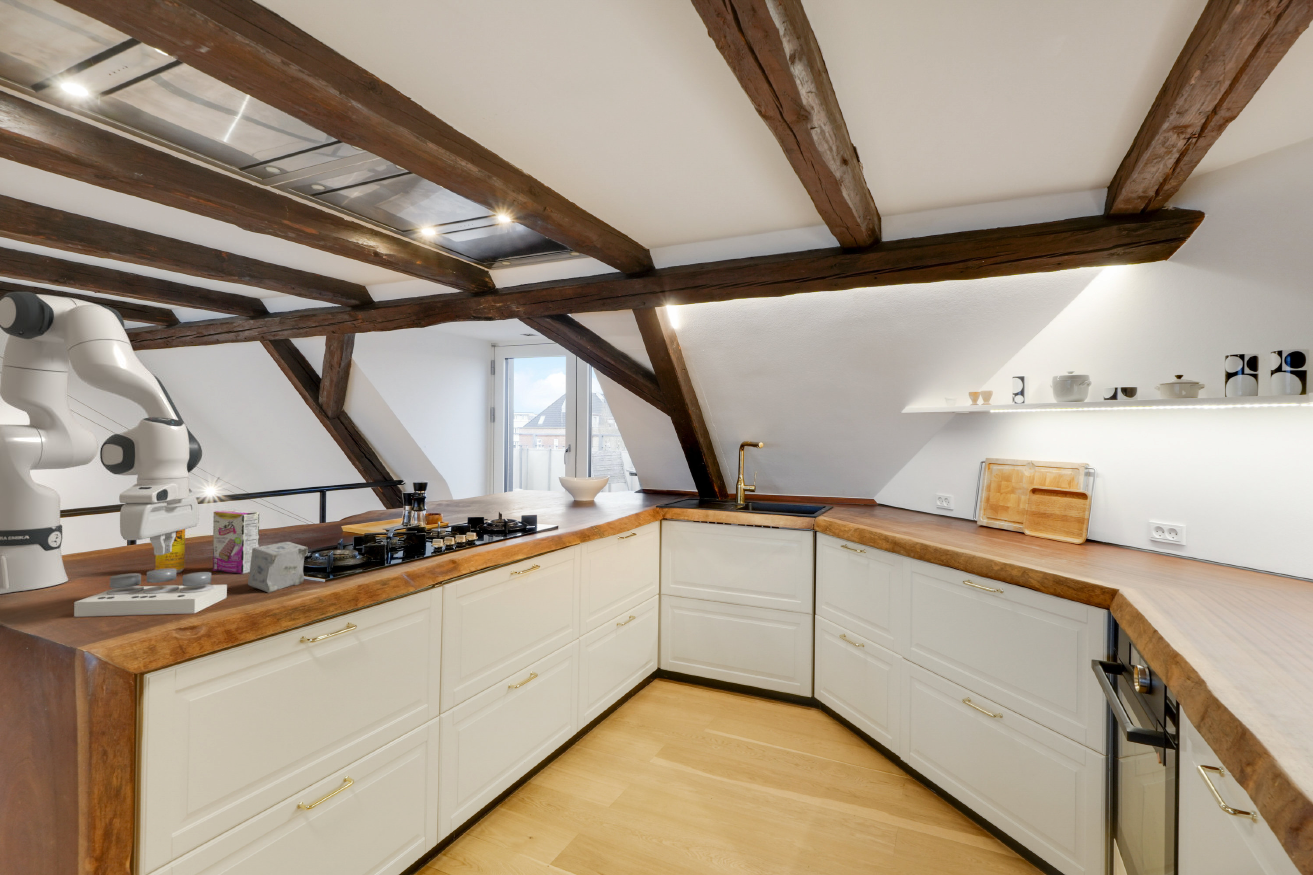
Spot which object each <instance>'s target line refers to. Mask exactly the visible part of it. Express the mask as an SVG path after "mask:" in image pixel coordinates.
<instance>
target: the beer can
mask: <svg viewBox="0 0 1313 875" xmlns="http://www.w3.org/2000/svg"><path fill="white" fill-rule="evenodd" d="M185 552H186V529H183V530H179V531H176V537H175V539H174V541H173V543H172V551H171V552H170V553H166V554H163V555H155V558H154V559H155V562H154V563H155V565H154V566H155V568H154V570H157V569H166V568H174V569H176V574H178V573H181V572H183V570H184V569H185V567H186V566H185V565H186V564H185V563H186V562H185V560H186V558H185V557H186V553H185Z"/></svg>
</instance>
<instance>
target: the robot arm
mask: <svg viewBox="0 0 1313 875" xmlns="http://www.w3.org/2000/svg"><path fill="white" fill-rule="evenodd" d="M125 326H126V324H125V320H124V318H123V317H122V315H121V313H120V312H119V311H118V310H116V308H115V309H114V308H113V307H110V306H108V305H104V304H102V303H94V302H90V301H86V300H81V299H78V298H72V297H67V296H58V295H50V294H40V293H39V294H38V293H37V294H36V293H33V292H31V291H10V292H7V293H5V294H4V295H2V296H1V297H0V329H1V331H3V332H4V333H6V334H7V335H9V336H8V338H7V341H6V345H5V348H4V352H3V357H2V365H1V374H0V376H1V377H0V397H1V399H2V400H3V401H4V402H5V403H6V404H7V405H9V406H11V407H13V408H15V409H18V410H20V411H23V412H25V413H26V415H28V419H29V424H0V595H1V594H2V595H3V594H7V593H13V592H21V591H22V592H24V591H31V590H36V589H42V588H48V587H53V586H56V585H60V584H64V583H66V582H68V581H69V578H68V575H67V573H66V570H65V566H64V561H63V556H62V549H61V546H62V542H63V525H62V524H61V497H60V494H59V493H58V492H57V491H56V490H54V489H53V488H51V487H48V486H46V485H44V484H40V483H37V482H35V481H34V480H33V478H32V476H31V471H32V470H34V471H35V470H37V471H38V470H61V469H62V470H64V469H70V468H75V467H81V466H85V465H89V464H90V463H91V462H92V461H93V460H94V459H95V458H96V456H97V455H98V451H99V442H98V441H99V440H98V439H97V437H96V436H95V435H94V434H93V432H92V431H90V430H89V429H88V428H87V427H84V426H83V425H82V424H80V423H79V422H78V420H77V419H76V418H75V416H74V415H73V413H72V411H71V408H70V405H69V401H68V400H69V399H68V397H69V396H68V386H69V374H70V373H69V372H70V365H71V368H72V369H73V372H74V373H75V374H76V375H77V377H78V378H79V379H80V380H81V381H82V382H84V383H85V384H87V385H89V386H91V387H93V388H95V389H98V390H101V391H103V392H107V393H111V394H114V395H117V396H119V397H122V398H125V399H127V400H130V401H132V402H134V403H135V404H137V405H138V406H139V407H141V408H142V409H143V410H144V411H145V414H146V415H147V417H145V418H142V419H140V421H139V423H138V425H137V426H135V427H133V428H131V429H128V430H127V431H123V432H120V433H114V434H112V435H110V436H109V437H108V438H106V439H105V441H103V442H102V444H101V447H100V451H99V457H100V458H99V460H100V462H101V464H102V466H103V468H105V469H106V470H107V471H109V473H110V474H113V475H119V476H137V477H136V483H135V484H133V485H132V486H131V487H129V488H128V489H127V488H126V490H124V491H122V492H121V493H119V500H118V501H119V503H120V504H123V505H122V506H121V509H120V513H119V532H120V536H121V538H122V539H123V540H125V541H142V540H145V539H146V540H147V539H149V542H150V543H151V545H152V548H153V554H154V555H155V556H156V555H163V554H166V553H170V552H171V551H172V543H173V541H174V539H175V537H176V531H179V530H183V529H185V530H187V529H192V528H195V527H197V526H198V525H199V522H200V514H199V513H200V512H199V504H198V499H197V497H196V496H195V493H194V492H193V491H192V490H191V488H190V473H191V472H192V471H193V470H194V469H195V468H196V467H197V466H198V465H199V463H200V462H201V460H202V456H203V449H202V446H201V444H200V443H199V441H198V440H197V438H196V437H195V435H194V434H193V433H192V432H191V431H190V430H189V428H188V426H187V424H186V423H185V422H184V419H183V417H182V416H181V415H180V412H179V410H178V408H177V407H176V405H175V403H174V402H173V399H172V397H171V396H170V394H169V393H168V390H167V389H166V387H165V386H164V384H163V383H162V381H161V380H160V379H159V378H158V377H157V375H154V374H153V373H151V371H149V370H148V369H147V368H146V367H145V366H144V364H143V363H142V362H141V361H140V359H139V358H138V357H137V355H136V354H135V351H134V349H133V347H132V343H131V341H130V339H129V337H128V334H127V333H126V331H125V329H126V328H125Z"/></svg>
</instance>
